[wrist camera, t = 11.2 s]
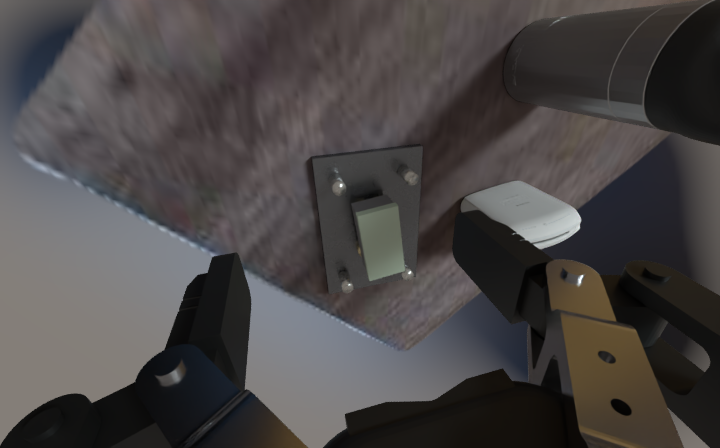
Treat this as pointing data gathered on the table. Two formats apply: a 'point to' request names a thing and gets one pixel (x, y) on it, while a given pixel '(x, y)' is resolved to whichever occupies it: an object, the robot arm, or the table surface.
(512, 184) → the photo printer
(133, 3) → the table surface
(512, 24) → the table surface
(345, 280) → the plate
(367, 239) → the grey green block
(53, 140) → the table surface
